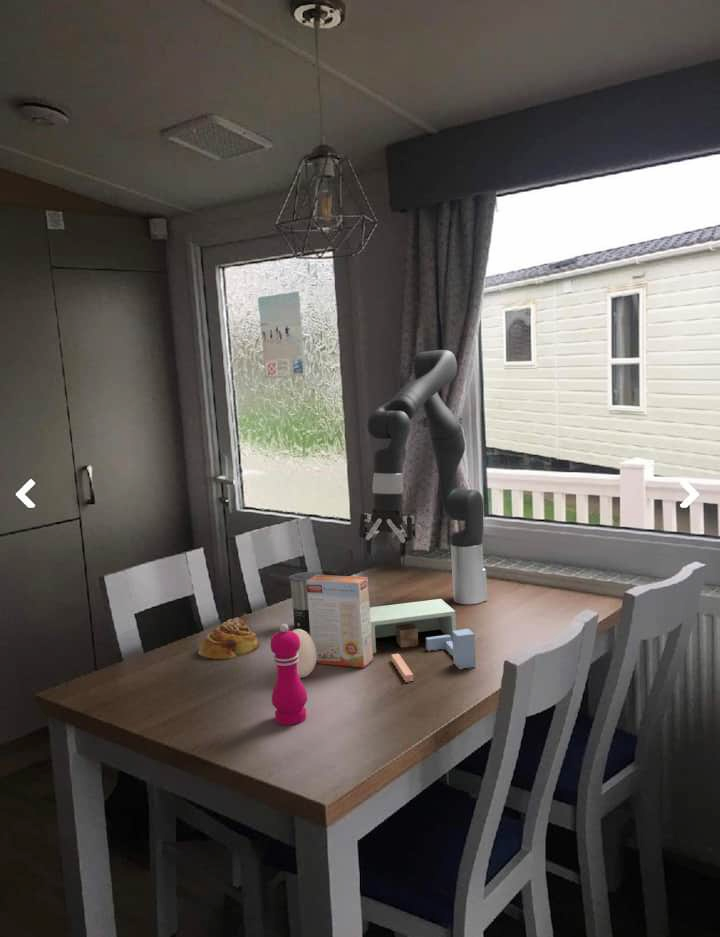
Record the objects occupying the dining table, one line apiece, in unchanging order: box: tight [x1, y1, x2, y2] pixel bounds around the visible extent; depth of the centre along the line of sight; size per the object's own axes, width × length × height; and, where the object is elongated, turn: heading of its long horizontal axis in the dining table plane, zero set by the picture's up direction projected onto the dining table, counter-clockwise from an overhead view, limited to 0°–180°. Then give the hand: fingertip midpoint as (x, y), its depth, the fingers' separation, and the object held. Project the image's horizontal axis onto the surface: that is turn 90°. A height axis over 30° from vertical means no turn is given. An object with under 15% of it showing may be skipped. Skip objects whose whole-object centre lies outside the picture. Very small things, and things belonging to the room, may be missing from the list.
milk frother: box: [288, 571, 323, 633], centre depth 223 cm, size 14×16×15 cm
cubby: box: [370, 598, 457, 654], centre depth 206 cm, size 22×12×8 cm, turn 102°
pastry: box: [197, 616, 260, 660], centre depth 208 cm, size 13×15×8 cm
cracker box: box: [306, 574, 374, 668], centre depth 193 cm, size 14×6×21 cm, turn 65°
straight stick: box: [391, 653, 414, 683], centre depth 185 cm, size 2×14×2 cm, turn 10°
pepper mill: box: [270, 623, 308, 726], centre depth 162 cm, size 7×7×20 cm
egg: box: [291, 629, 317, 679], centre depth 185 cm, size 8×8×11 cm
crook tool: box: [425, 628, 477, 670], centre depth 191 cm, size 16×7×8 cm, turn 12°
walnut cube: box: [395, 623, 419, 649], centre depth 203 cm, size 4×4×4 cm
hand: (386, 556), depth 199 cm, fingers open, 8 cm apart
